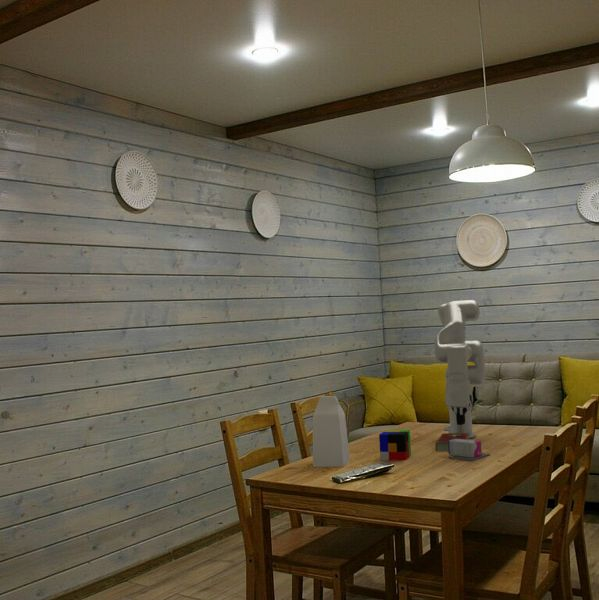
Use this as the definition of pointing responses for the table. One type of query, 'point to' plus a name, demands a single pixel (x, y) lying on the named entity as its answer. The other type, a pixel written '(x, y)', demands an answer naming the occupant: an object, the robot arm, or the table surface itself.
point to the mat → (469, 457)
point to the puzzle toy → (395, 445)
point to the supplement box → (464, 447)
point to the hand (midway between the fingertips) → (461, 424)
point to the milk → (329, 434)
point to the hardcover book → (443, 440)
